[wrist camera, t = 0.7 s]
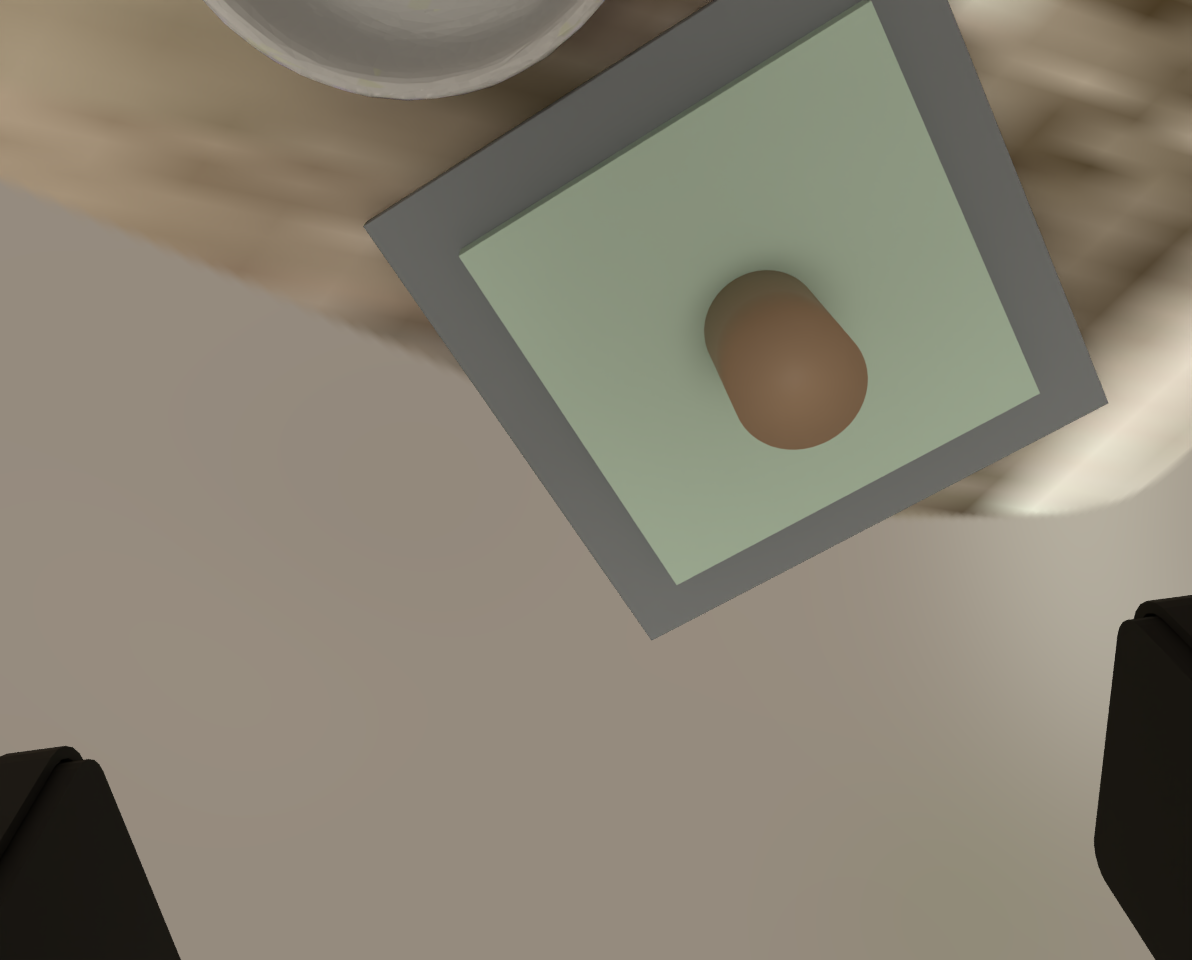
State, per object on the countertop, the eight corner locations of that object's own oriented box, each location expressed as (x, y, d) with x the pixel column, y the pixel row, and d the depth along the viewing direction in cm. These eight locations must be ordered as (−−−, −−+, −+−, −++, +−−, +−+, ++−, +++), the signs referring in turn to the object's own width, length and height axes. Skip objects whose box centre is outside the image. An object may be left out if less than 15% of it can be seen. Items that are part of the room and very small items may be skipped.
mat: (893, -115, 28) (900, -117, 27) (1099, 396, 35) (1108, 402, 34) (366, 221, 31) (363, 226, 30) (649, 631, 38) (651, 640, 37)
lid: (862, 0, 29) (936, 7, 23) (1029, 384, 34) (1119, 460, 29) (460, 249, 31) (445, 306, 26) (673, 572, 36) (697, 675, 31)
